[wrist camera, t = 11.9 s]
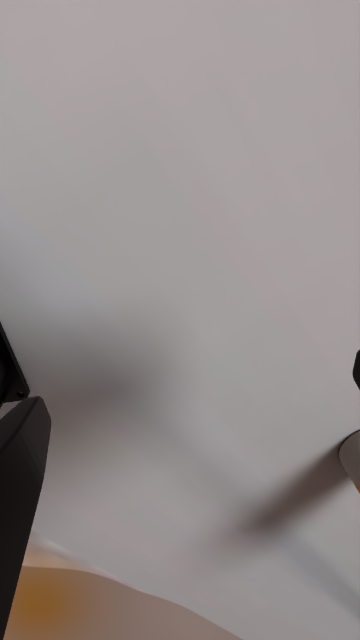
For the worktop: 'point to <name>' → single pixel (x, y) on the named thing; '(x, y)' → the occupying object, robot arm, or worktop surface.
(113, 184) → the worktop surface
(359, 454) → the lotion bottle
